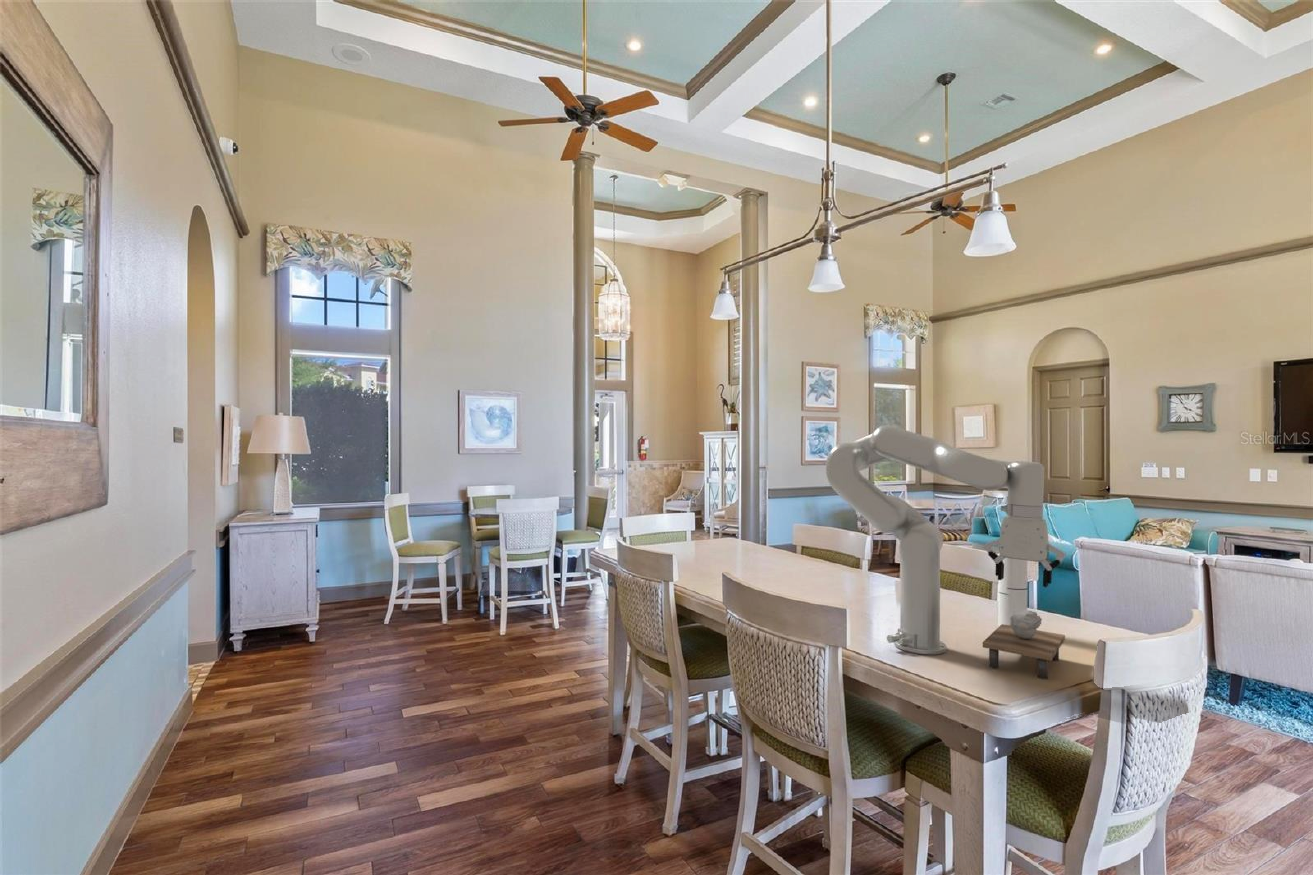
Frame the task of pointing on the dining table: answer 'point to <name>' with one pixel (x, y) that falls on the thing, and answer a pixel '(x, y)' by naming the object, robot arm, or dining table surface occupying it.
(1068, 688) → the dining table surface
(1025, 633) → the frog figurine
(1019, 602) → the cylindrical container
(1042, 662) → the walnut shelf
